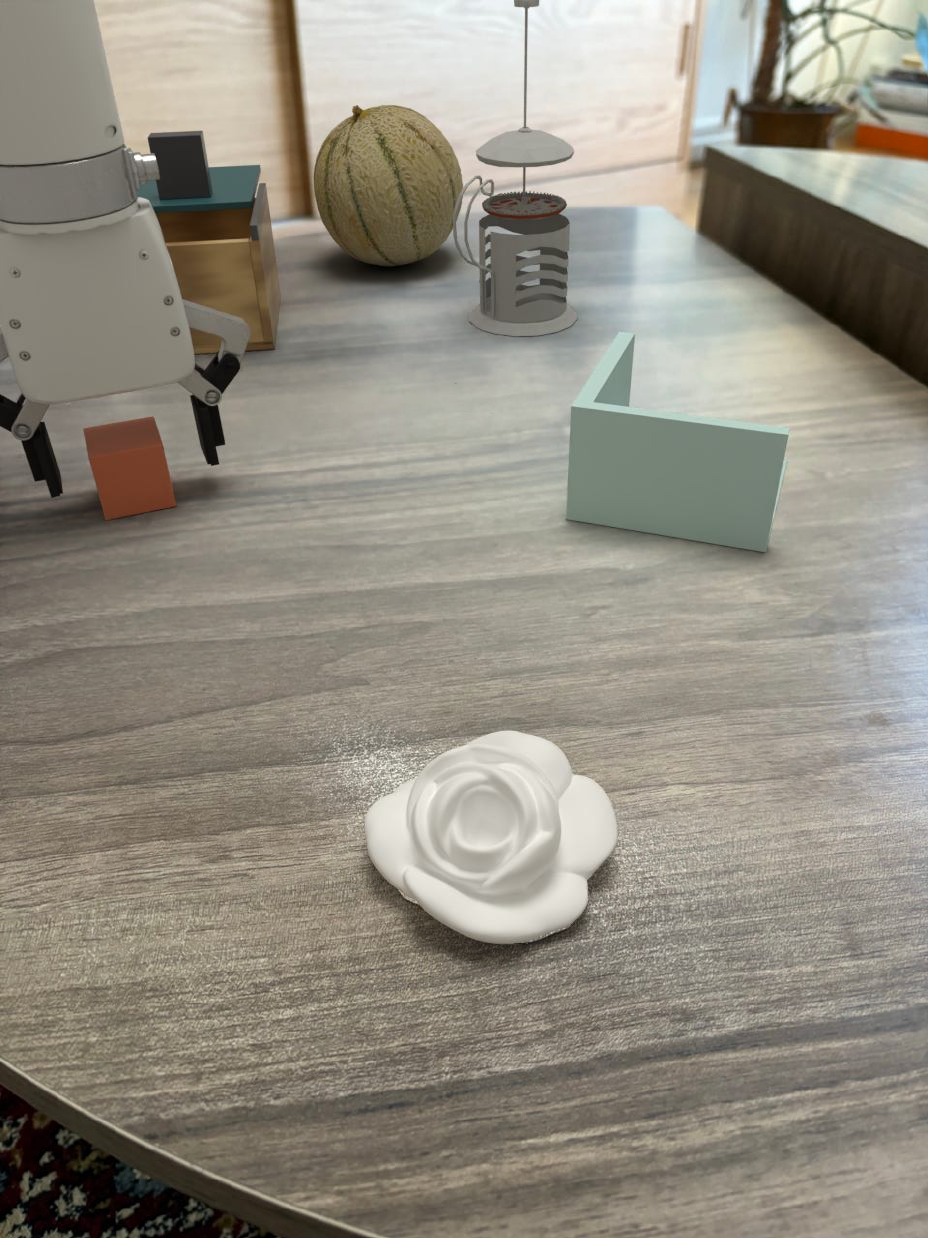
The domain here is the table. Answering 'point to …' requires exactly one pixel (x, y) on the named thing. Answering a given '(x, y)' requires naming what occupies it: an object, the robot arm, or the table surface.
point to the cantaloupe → (387, 185)
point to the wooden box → (227, 267)
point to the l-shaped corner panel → (669, 465)
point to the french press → (521, 236)
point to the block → (129, 467)
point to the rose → (495, 838)
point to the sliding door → (195, 177)
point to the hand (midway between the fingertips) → (134, 471)
